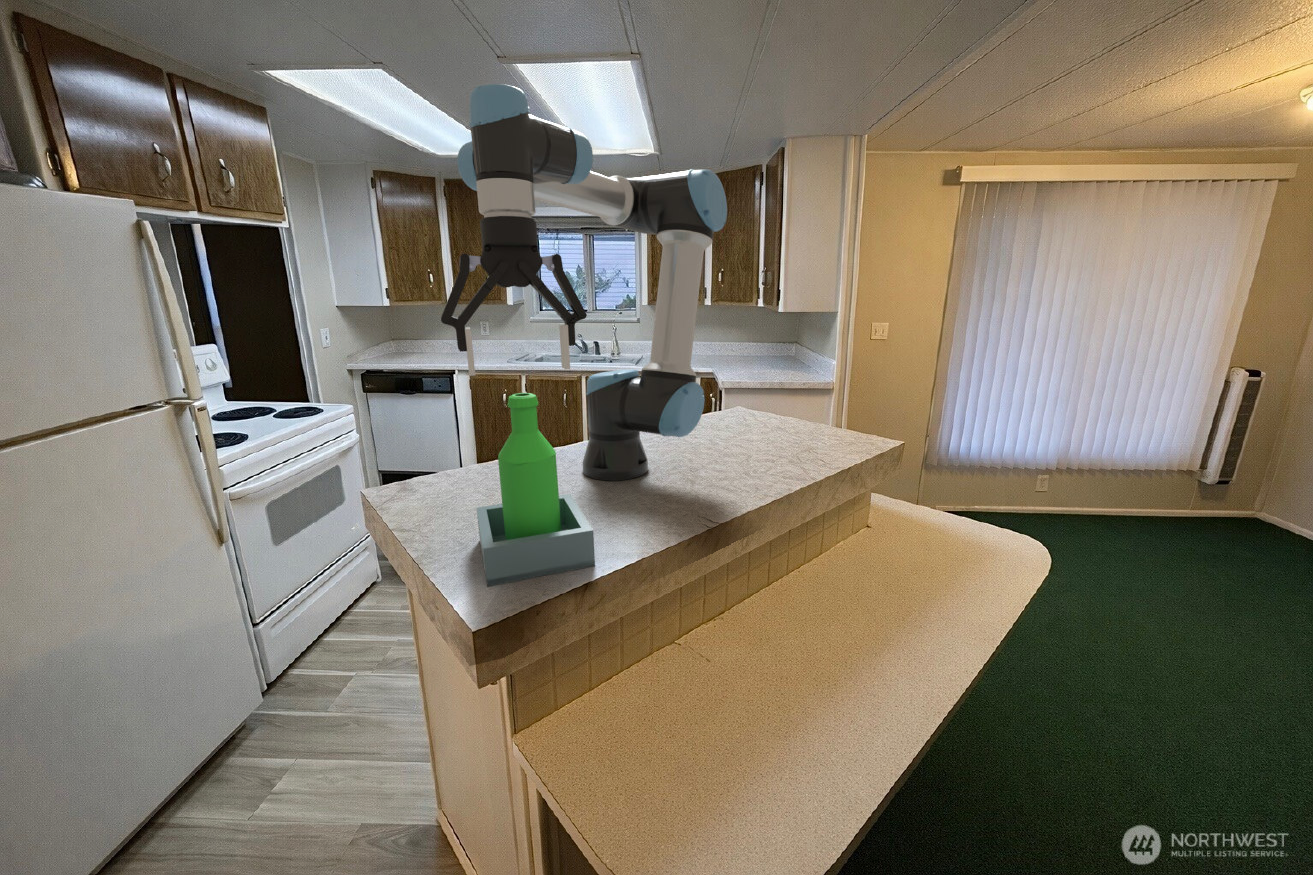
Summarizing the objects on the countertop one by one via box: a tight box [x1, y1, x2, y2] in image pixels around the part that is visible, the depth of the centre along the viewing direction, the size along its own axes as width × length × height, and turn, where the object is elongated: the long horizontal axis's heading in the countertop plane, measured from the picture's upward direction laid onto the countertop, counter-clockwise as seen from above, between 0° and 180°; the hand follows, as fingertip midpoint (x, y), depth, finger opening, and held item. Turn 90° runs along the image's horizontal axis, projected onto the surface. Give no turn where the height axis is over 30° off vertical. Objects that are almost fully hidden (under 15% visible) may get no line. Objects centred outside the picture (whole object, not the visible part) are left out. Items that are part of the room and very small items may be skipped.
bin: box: [475, 493, 596, 587], centre depth 88 cm, size 16×16×6 cm
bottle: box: [497, 392, 561, 540], centre depth 85 cm, size 9×9×25 cm
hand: (520, 371), depth 81 cm, fingers open, 13 cm apart
